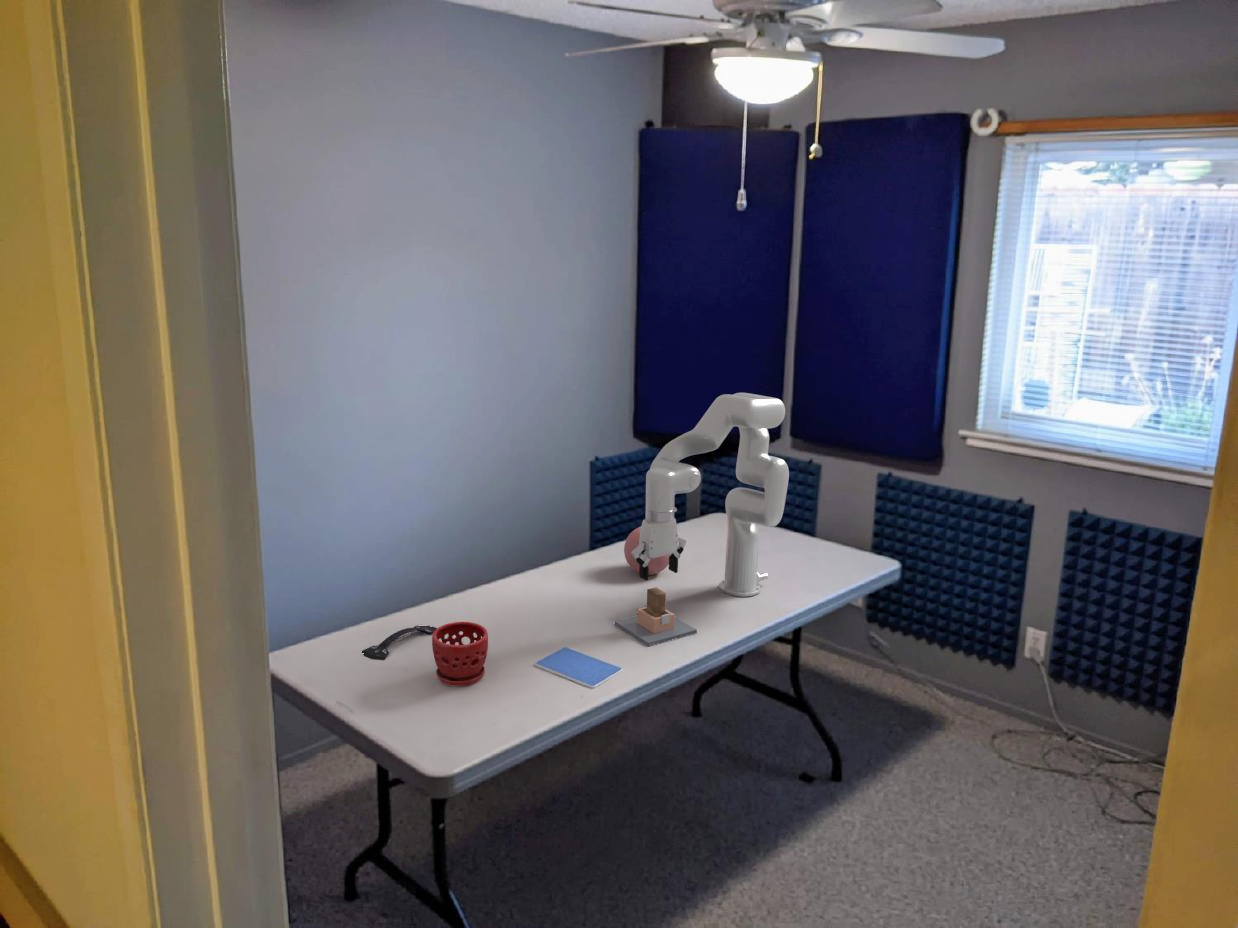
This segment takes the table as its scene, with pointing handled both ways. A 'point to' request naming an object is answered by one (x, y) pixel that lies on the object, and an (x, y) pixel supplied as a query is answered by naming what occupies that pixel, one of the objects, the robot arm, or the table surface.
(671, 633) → the square base with socket
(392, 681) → the table surface
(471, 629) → the plant pot
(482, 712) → the table surface
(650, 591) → the wooden rectangular block
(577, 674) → the tablet computer
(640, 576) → the robot arm
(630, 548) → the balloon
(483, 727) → the table surface
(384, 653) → the black curved handle
